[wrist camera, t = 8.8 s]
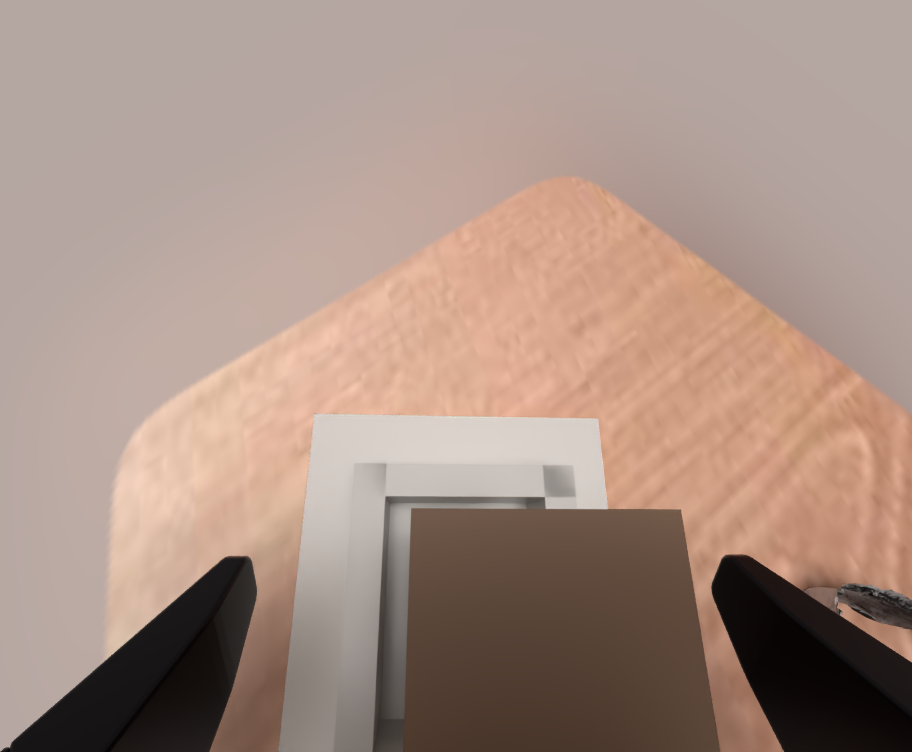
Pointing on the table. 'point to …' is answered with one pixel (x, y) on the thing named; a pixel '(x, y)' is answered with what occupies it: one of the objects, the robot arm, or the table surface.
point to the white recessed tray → (400, 549)
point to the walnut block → (553, 633)
